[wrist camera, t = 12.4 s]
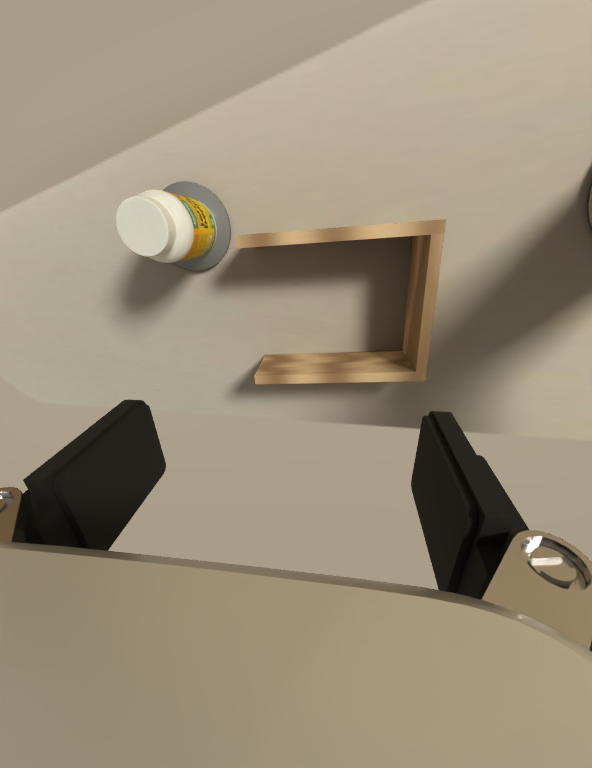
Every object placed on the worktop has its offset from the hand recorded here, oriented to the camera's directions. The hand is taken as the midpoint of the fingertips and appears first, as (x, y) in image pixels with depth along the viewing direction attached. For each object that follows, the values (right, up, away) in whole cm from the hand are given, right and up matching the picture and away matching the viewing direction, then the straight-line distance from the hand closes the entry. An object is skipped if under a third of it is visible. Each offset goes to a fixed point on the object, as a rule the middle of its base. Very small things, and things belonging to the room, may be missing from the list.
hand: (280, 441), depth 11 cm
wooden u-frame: (+4, +11, +23) cm, 26 cm away
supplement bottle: (-10, +18, +21) cm, 29 cm away
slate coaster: (-10, +18, +21) cm, 29 cm away
